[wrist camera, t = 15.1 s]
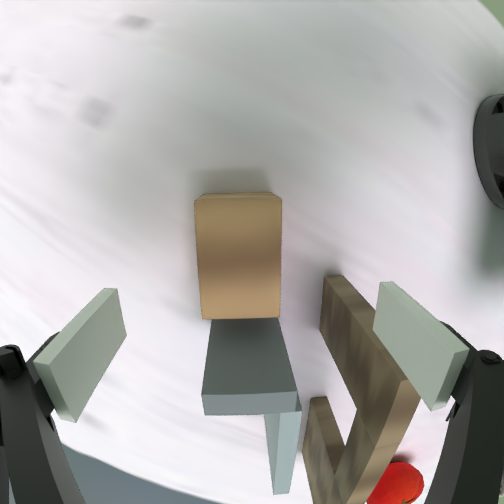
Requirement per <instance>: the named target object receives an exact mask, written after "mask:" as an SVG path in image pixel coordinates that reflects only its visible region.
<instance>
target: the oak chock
mask: <svg viewBox="0 0 504 504" xmlns="http://www.w3.org/2000/svg"><path fill="white" fill-rule="evenodd" d="M194 207H195V228H196V246H197V261H198V275H199V288H200V300H201V312H202V319H240V318H269V317H280V290H281V228H282V199H281V198H279V197H278V196H276V195H275V194H273V193H220V194H203V195H202V196H200V197H199V198H198V199H196V200H195V201H194Z"/></svg>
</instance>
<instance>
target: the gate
mask: <svg viewBox="0 0 504 504" xmlns="http://www.w3.org/2000/svg"><path fill="white" fill-rule="evenodd" d="M201 396H202V402H203V408H204V414H205V415H258V414H264V419H265V428H266V437H267V445H268V454H269V462H270V471H271V479H272V487H273V495H277V494H287V493H289V490H290V485H291V480H292V474H293V469H294V463H295V457H296V451H297V445H298V438H299V432H300V425H301V418H302V407H301V404H300V400H299V396H298V392H297V388H296V384H295V380H294V376H293V372H292V369H291V365H290V361H289V357H288V354H287V350H286V346H285V342H284V339H283V335H282V331H281V327H280V324H279V320H278V317H269V318H240V319H212V322H211V329H210V336H209V343H208V349H207V357H206V364H205V371H204V378H203V386H202V393H201Z"/></svg>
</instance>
